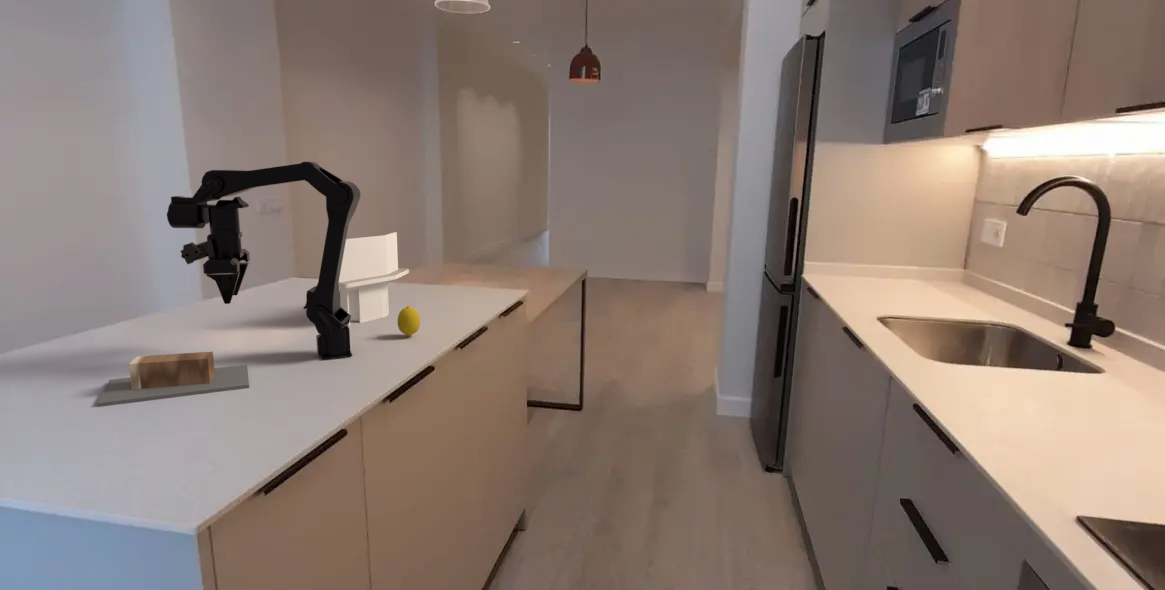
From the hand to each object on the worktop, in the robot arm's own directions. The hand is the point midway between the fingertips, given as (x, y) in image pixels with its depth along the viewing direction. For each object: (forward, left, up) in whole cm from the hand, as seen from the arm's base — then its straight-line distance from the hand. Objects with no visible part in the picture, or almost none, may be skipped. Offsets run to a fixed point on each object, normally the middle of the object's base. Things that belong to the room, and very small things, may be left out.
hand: (231, 299), depth 143 cm
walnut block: (+4, +18, -10) cm, 21 cm away
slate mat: (+10, +17, -13) cm, 24 cm away
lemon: (-39, -1, -13) cm, 41 cm away
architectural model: (-34, -27, -13) cm, 45 cm away
